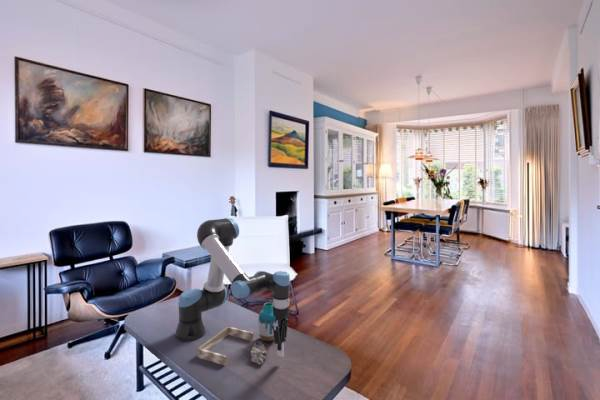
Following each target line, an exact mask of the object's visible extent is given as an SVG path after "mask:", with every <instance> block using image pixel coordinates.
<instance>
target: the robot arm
mask: <svg viewBox="0 0 600 400" xmlns="http://www.w3.org/2000/svg"><path fill="white" fill-rule="evenodd" d="M239 235H240V227H239V224H238V222H237V221H236V220H235V219H234V218H225V217H224V218H219V219H217V218H216V219H209V220H205V221H203V222H202V223H201V224H200V225H199V227H198V229H197V231H196V238H197V242H198V244H199V245H200V247H201V248H202V249H203V250H206V252H207V253H208V254H209V255H210V262H209V270H208V273H207V275H208V276H207V281H205V283H204V284H203V288H202V289H200V288H193V289H192V288H191V289H187V290H185V291H183V292H181V294H180V295H179V297H178V303H177V304H178V324H177V327H176V330H175V333H174V334H175V338H176V340H177V341H179V342H192V341H195V340H198V339H200V338H202V337H203V336H205V333H206V326H205V325H204V322H203V319H202V317H203V315H202V314H203V313H204V312H206V311H209V310H213V309H214V308H218V307H220V306H222V305H224V304H225V303H226V301H227V299H228V292H227V288H226V286H225V284H224V276H225V277H226V278H227V279H228V281H229V282H230V283H231V285H230V291H231V295H232V296H233V297H234V298H235V299H243V298H247V297H248V296H250V295H253V294H257V293H259V292H262V291H265V290H266V291H270V292H272V303H273V315H274V316H275V317H276V319H275V323H276V324H275V326H272V329H273V332H274V340H273V341H274V345H275V344H276V356H277V357H281V358H283V357H284V356H285V342H286V341H287V339H286V338H287V334H288V333H287V332H288V325H289V318H290V316H289V314H290V302H291V300H290V288H291V287H290V286H291V278H290V274H289V272H287V271H282V270H281V271H280V270H279V271H275V272H274V273H270V272H267V271H264V270H263V271H262V270H258V271H257V272H256V273H254V275H253V276H252V275H251V276H250V277H249V276H248V275H247V273H246V272H245V271H244V270H243V269H242V267H241V266H240V265H239V263H238V261H236V259H235V258H234V257H233V255H231V253H230V251H229V250H230V247H232V245H233V244H234V243H233V242H234V240H236V239H237V238H238V237H239Z"/></svg>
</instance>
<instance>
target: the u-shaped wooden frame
mask: <svg viewBox="0 0 600 400" xmlns="http://www.w3.org/2000/svg"><path fill="white" fill-rule="evenodd" d="M228 336H231V337H236V338H240V339H243V340H246V341H251V342H253V341H254V332H253V331H248V330H244V329H240V328H237V327H232V326H228V325H227V327H225V328H224V329H222V330H221V331H220V332H218V333H217V334H215V335H214V336H213V337H211V338H210V339H209V340H207V341H206V342H204V343H203V344H201V345H200V346H199V347H197V348H196V357H197V358H198V357H199V359H201V360H205V361H209V362H212V363H215V364H219V365H222V366H225V367H226V366H227V365H228V356H227V355H225V354H222V353H219V352H215V351H211V349H213V347H215V346H217V344H219V343H220V342H221V341H222V340H224V339H225V338H226V337H228Z"/></svg>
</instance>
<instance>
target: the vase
mask: <svg viewBox="0 0 600 400" xmlns="http://www.w3.org/2000/svg"><path fill="white" fill-rule="evenodd" d="M275 319H276V317H275V316H274V315H273V302H269V301H268V302H265V303H263V307H262V310H260V312H259V313H258V336H259V338H260V339H261V340H262V341H264V342H272V341H274V332H273V329H272V326H275V324H276V323H275Z"/></svg>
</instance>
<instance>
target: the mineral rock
mask: <svg viewBox="0 0 600 400" xmlns="http://www.w3.org/2000/svg"><path fill="white" fill-rule="evenodd" d="M267 357H268V351H267V348H266V346H265V345H264V344H263V343H262V342H261V341H257V340H255V342H253V346H252V348H251V349H250V360H251V362H252V363H256V364H257V365H260V366H261V365H262V364H263V363H264V361H265V359H266V358H267Z"/></svg>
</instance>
